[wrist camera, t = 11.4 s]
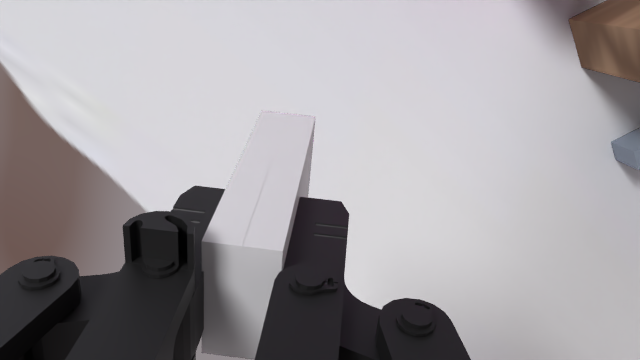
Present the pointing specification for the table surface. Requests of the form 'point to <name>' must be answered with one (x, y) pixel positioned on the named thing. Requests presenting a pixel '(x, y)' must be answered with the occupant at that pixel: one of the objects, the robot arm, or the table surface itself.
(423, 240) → the table surface
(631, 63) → the t block
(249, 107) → the table surface
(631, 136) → the pocket
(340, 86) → the table surface
